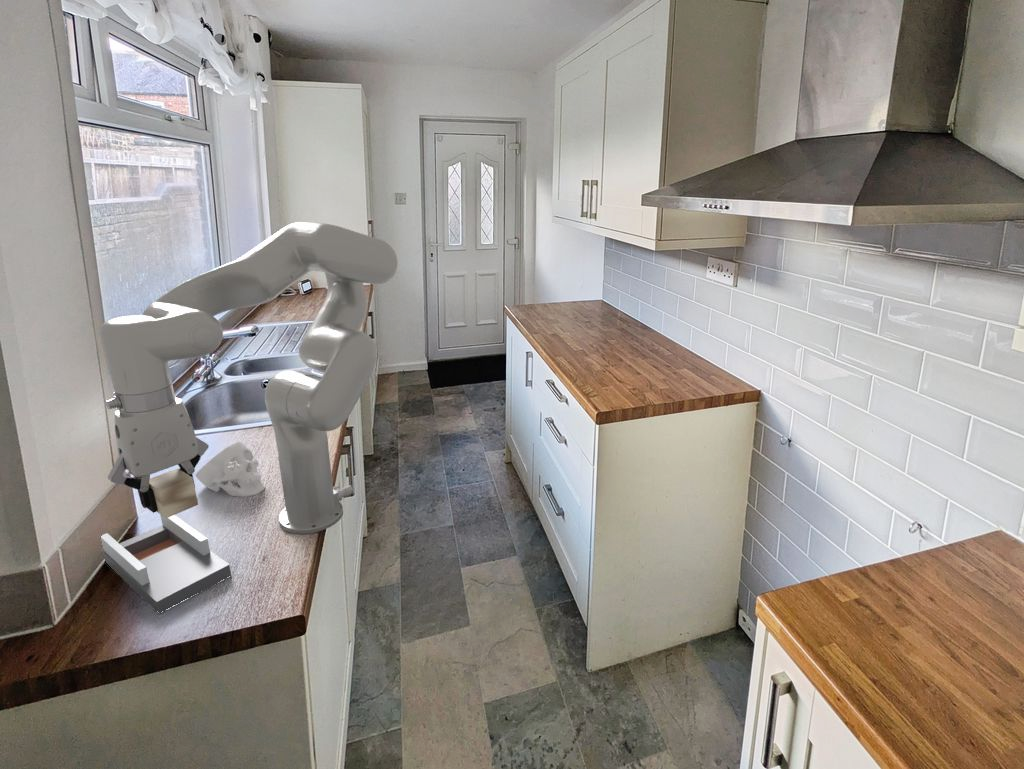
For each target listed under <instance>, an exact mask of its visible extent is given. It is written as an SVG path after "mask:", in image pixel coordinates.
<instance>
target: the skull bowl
mask: <svg viewBox="0 0 1024 769" xmlns="http://www.w3.org/2000/svg"><path fill="white" fill-rule="evenodd" d="M259 465H260V464H259V461H258V459H257V458H256V457H255V456H254V455H253V452H252V450H250V449H249V447H247V446H246V444H245V443H243V441H242V440H237V441H235V442H233V443H231V444H230V445H228V446H227V447H225V448H224V449H223V450H221V451H220V452H219V453H217V454H216V455H214V456H213V457H212V458H211V459H210V460H209V461H208V462H206V464H205V465H203V466H202V467H201V468H200V469H199V470H198V471H197V472H196V474H195V477H196V479H197V480H198V481H199V482H200V483H201V484H202V485H204V487H207V488H208V489H209V490H212V491H213V492H216V493H218V492H220V491H221V489H222V490H224V491H225V492H226V493H227V494H228V495H229V496H231V497H241V498H243V497H245V498H246V497H252V496H256V495H258V494H260V493H261V492H262V491H264V489H265V485H264V483H263V482H262V474H261V473H260V472H259V471H258V470H257V469H258V467H259ZM233 483H234V484H236V483H237V484H238V486H236V485H234V484H233Z"/></svg>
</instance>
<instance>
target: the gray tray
mask: <svg viewBox="0 0 1024 769" xmlns="http://www.w3.org/2000/svg"><path fill="white" fill-rule="evenodd" d="M159 516H160V519H161V524H162V525H160V526H158V527H155V528H152V529H151V530H150V529H149V530H148V531H145V532H143V533H141V534H138V535H136V536H134V537H132V538H128V539H126V540H124V541H121V542H120V543H119V542H118V541H117V540H116V539H115V538H113V537H112V536H111V535H110V534H109V533H107V532H106V533H104V534H102V536H101V535H100V536H101V540H100V542H101V541H102V543H101V546H102V545H103V547H102V551H103V549H104V551H103V555H104V558H103V560H104V559H105V561H106V563H107V564H108V565H109V566H110V567H111V568H112V569H113V570H114V571H115V572H116V573H117V574H118V575H120V576H121V577H122V578H123V579H124V580H125V581H126V582H127V583H128V584H129V585H130V586H131V587H132V588H133V589H134V590H135V591H136V592H137V593H138V594H139V595H140V596H139V597H141V596H142V597H143V598H144V599H145V600H144V599H143V598H142V597H141V598H142V599H143V600H144V602H146V601H147V602H148V603H149V604H150V605H151V606H152V607H153V608H154V609H155V610H156V611H158V612H159V613H161V612H162V611H165V610H166V609H168V608H170V607H172V606H173V605H176V604H178V603H180V602H181V601H183V600H185V599H187V598H190V597H191V596H193V595H195V594H197V593H199V594H201V593H202V592H201V591H203V590H205V589H207V588H209V587H211V586H213V585H214V586H216V585H218V584H219V583H218V582H220V581H221V580H223V579H226V578H227V577H229V576H231V577H232V572H231V568H230V567H231V566H230V564H229V563H228V562H226V561H225V560H224V559H222V557H219V555H217V554H216V553H214V551H211V549H210V545H209V544H210V543H209V539H208V537H206V536H204V535H203V534H202V533H201V532H200V531H197V529H196V528H193V527H192V526H191V525H189V524H188V523H187V522H185V521H183V519H181V518H180V517H178V516H177V515H176V514H175V515H173V516H171V517H168V518H165V517H163V516H162V515H161V514H159ZM103 555H102V556H103ZM106 563H105V564H106ZM107 564H106V565H107ZM108 565H107V566H108ZM109 566H108V567H109ZM110 567H109V568H110ZM111 568H110V569H111ZM112 569H111V570H112ZM113 570H112V571H113ZM114 571H113V572H114ZM115 572H114V573H115ZM116 573H115V574H116ZM117 574H116V575H117ZM118 575H117V576H118ZM229 578H230V577H229ZM123 579H122V580H123ZM124 580H123V581H124ZM226 580H227V579H226ZM125 581H124V582H125ZM126 582H125V583H126ZM127 583H126V584H127ZM217 583H218V584H217ZM220 583H221V582H220ZM128 584H127V585H128ZM215 584H216V585H215ZM129 585H128V586H129ZM130 586H129V587H130ZM214 586H213V587H214ZM131 587H130V588H131ZM132 588H131V589H132ZM211 588H212V587H211ZM133 589H132V590H133ZM209 589H210V588H209ZM134 590H133V591H134ZM207 590H208V589H207ZM135 591H134V592H135ZM205 591H206V590H205ZM136 592H135V593H136ZM200 592H201V593H200ZM203 592H204V591H203ZM137 593H136V594H137ZM138 594H137V595H138ZM197 595H198V594H197ZM190 599H191V598H190ZM147 602H146V603H147ZM148 603H147V604H148ZM149 604H148V605H149ZM150 605H149V606H150ZM151 606H150V607H151ZM152 607H151V608H152ZM153 608H152V609H153ZM154 609H153V610H154ZM155 610H154V611H155ZM159 613H158V614H159Z"/></svg>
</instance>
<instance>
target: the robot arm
mask: <svg viewBox="0 0 1024 769" xmlns="http://www.w3.org/2000/svg"><path fill="white" fill-rule="evenodd" d="M398 264H399V263H398V257H397V253H396V252H395V249H394V248H393V247H392V245H390V244H389V242H387V241H385V240H383V239H379V238H377V237H373V236H369V235H366V234H364V233H360V232H358V231H357V232H356V231H354V230H351V229H348V228H345V227H341V226H339V225H335V224H331V223H320V222H319V223H318V222H311V221H310V222H309V221H308V222H307V221H297V222H294V223H293V222H292V223H290V224H288V225H286V226H284V227H283V228H280V229H279V231H277V232H275V233H274V234H273V235H271V236H269V237H268V238H267V239H265V240H263V241H262V242H261V243H259V244H258V245H257V246H255V247H253V248H252V249H251V250H249V251H248V252H246V253H245V254H243V255H242V256H241V257H238V258H237V259H236V260H233V261H231V262H228V263H226V264H223V265H220V266H219V267H216V268H214V269H211V270H209V271H206V272H203V273H201V274H199V275H197V276H194V277H192V278H190V279H188V280H186V281H184V282H181V283H179V284H178V285H177V286H175V287H174V288H172V289H170V290H168V292H166V293H164V294H163V295H161V296H160V297H158V298H157V299H155V300H154V301H153V302H151V303H150V304H149V305H148V306H147V307H146V309H145V310H144V311H143V312H142V314H138V315H137V314H136V315H125V316H118V317H114V318H111V319H108V320H106V321H104V322H102V324H101V325H100V328H99V336H100V341H101V344H102V349H103V351H104V355H105V360H106V364H107V368H108V371H109V376H110V379H111V385H112V388H113V392H112V394H113V396H112V397H111V398H110V399H108V400H105V406H106V408H107V409H108V410H111V409H117V410H115V411H114V436H115V437H114V438H115V444H116V449H117V450H116V451H117V455H118V457H117V459H116V461H115V463H114V465H113V466H112V468H111V470H110V471H109V474H108V475H107V480H109V481H110V482H111V483H113V484H118V485H121V486H126V487H129V488H132V489H135V490H137V493H138V497H139V501H140V505H141V506H142V507H143V508H144V509H148V510H149V511H150V512H152V513H153V514H154V513H158V512H157V510H158V508H157V504H156V500H155V496H154V492H153V490H152V489H151V488H150V486H149V481H150V478H151V475H153V474H156V473H159V472H162V471H164V470H167V469H169V468H173V467H175V466H178V469H180V470H181V471H183V472H185V473H186V474H188V475H189V476H191V477H193V482H194V487H195V488H196V485H195V480H194V475H193V474H194V473H195V472H196V471H195V470H196V469H195V468H196V466H197V465H198V463H199V462H200V460H201V458H202V456H203V455H204V454H205V453H206V451H207V450H208V449H209V444H208V443H207V442H205V441H203V440H202V439H200V438H198V437H197V436H196V432H195V429H194V426H193V424H192V420H191V417H190V415H189V413H188V409H187V407H186V406H185V404H184V402H183V399H182V398H179V397H176V395H175V390H174V386H173V381H172V380H173V379H172V375H171V371H170V366H169V361H178V360H186V359H187V360H189V359H197V358H202V357H206V356H208V355H210V354H212V353H213V352H215V351H216V350H217V349H218V348H219V347H220V345H221V343H222V340H223V336H224V332H223V330H224V329H223V326H222V324H221V323H220V321H219V320H218V319H217V318H216V317H215V316H217V315H220V314H222V313H225V312H228V311H231V310H235V309H242V308H250V307H255V306H259V305H263V304H267V303H269V302H271V301H273V300H274V299H275V298H277V297H279V295H281V294H282V293H283V292H285V290H287V289H288V288H290V287H291V286H292V285H294V284H295V283H297V281H299V280H300V279H301V278H303V277H304V276H306V275H307V274H308V273H311V272H312V271H314V272H320V273H324V275H325V279H326V284H327V286H326V287H327V293H326V297H325V300H324V302H323V304H322V306H321V308H320V309H319V312H318V313H317V315H316V316H315V318H314V320H313V321H312V323H311V325H310V327H309V328H308V330H307V332H306V333H305V335H304V337H303V339H302V340H301V343H300V344H299V349H298V353H299V354H298V356H299V359H300V360H301V362H302V364H304V365H305V366H307V367H308V368H310V369H312V370H315V371H318V372H321V373H323V375H322V376H318V375H315V374H312V373H308V372H304V371H302V370H301V371H300V370H296V369H293V370H292V369H287V370H283V371H280V372H278V373H276V374H275V375H273V376H272V377H271V378H270V379H269V381H268V383H267V385H266V388H265V390H264V402H265V403H264V404H265V407H266V411H267V413H268V416H269V419H270V422H271V425H272V428H273V433H274V437H275V443H276V449H277V456H278V466H279V471H280V479H281V485H282V491H283V499H284V505H285V507H284V509H282V510H281V512H280V514H279V516H278V524H279V526H280V527H281V529H283V530H284V531H287V532H288V533H291V534H297V535H299V534H300V535H302V534H303V535H304V534H314V533H317V532H322V531H324V530H326V529H329V528H331V527H332V526H334V525H336V524H337V523H338V522H339V521H340V520H341V519H342V517H343V515H344V506H343V504H342V503H341V502H340V501H342V500H343V498H344V497H347V496H349V495H351V494H353V493H354V487H353V486H352V485H350V484H348V485H346V486H344V487H341V486H340V485H339V484H337V485H335V486H334V485H333V477H332V469H331V466H332V465H331V458H330V451H329V439H328V434H327V432H331V431H335V430H336V429H338V428H340V427H341V426H342V425H343V424H344V423H345V422H346V421H347V419H349V416H350V415H351V414H352V411H353V410H354V408H355V406H356V404H357V402H358V401H359V399H360V397H361V395H362V393H363V391H364V390H365V388H366V386H367V384H368V382H369V380H370V378H371V377H372V374H373V373H374V370H375V367H376V364H377V363H376V362H377V358H378V357H377V353H378V352H377V346H376V343H375V342H374V339H373V338H372V336H370V335H369V334H367V333H366V332H363V331H362V330H361V328H362V326H363V323H364V321H365V319H366V317H367V314H368V308H369V306H368V298H367V297H368V296H367V294H366V290H365V285H364V284H370V285H382V284H386V283H388V282H389V281H390V280H392V279H393V277H394V276H395V274H396V272H397V270H398ZM126 470H127V471H128V473H129V474H130V475H132V476H129V475H125V474H124V473H125V471H126Z"/></svg>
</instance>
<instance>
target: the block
mask: <svg viewBox="0 0 1024 769" xmlns="http://www.w3.org/2000/svg"><path fill="white" fill-rule="evenodd" d="M193 479H194V476H193V477H191V476H189V475H188V474H186V473H185V472H183V471H181V470H180V468H179V467H177V468H174V469H173V470H169V471H167V472H165V473H162V474H158V475H156V476H153V477H150V481H149V486H150V488H151V489H152V490H153V492H154V496H155V500H156V504H157V508H158V510H157V512H156V513H158V514H159V515H160V514H161V515H162V516H163V517H165V518H168V517H171V516H173V515H175V516H176V515H177V514H180V513H182V512H184V511H187V510H189V509H192V508H195V507H196V506H198V505H199V500H198V497H197V491H196V486H195V487H194V484H195V481H194V482H193Z"/></svg>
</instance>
